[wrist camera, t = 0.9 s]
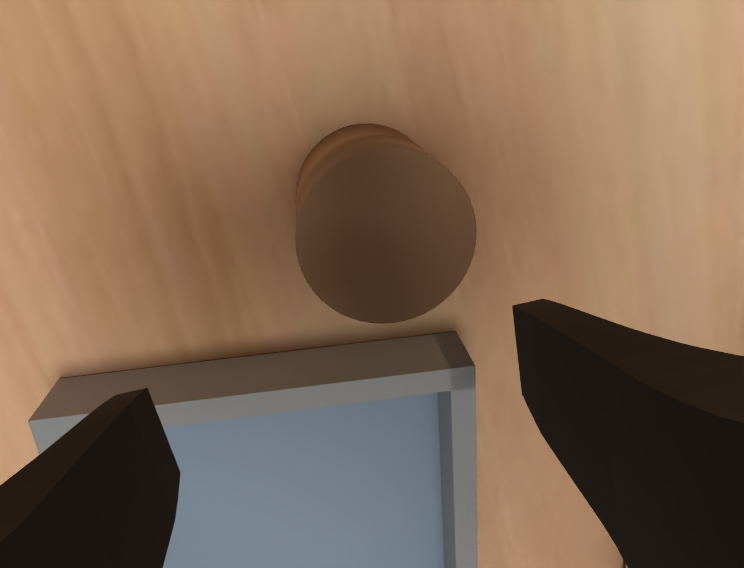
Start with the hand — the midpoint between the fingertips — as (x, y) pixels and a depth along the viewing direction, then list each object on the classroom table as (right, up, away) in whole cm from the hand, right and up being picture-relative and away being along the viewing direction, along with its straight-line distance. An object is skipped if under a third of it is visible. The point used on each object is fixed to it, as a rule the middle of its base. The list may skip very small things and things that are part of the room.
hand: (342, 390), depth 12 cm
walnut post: (0, +5, +7) cm, 9 cm away
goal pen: (-3, -7, +12) cm, 14 cm away
